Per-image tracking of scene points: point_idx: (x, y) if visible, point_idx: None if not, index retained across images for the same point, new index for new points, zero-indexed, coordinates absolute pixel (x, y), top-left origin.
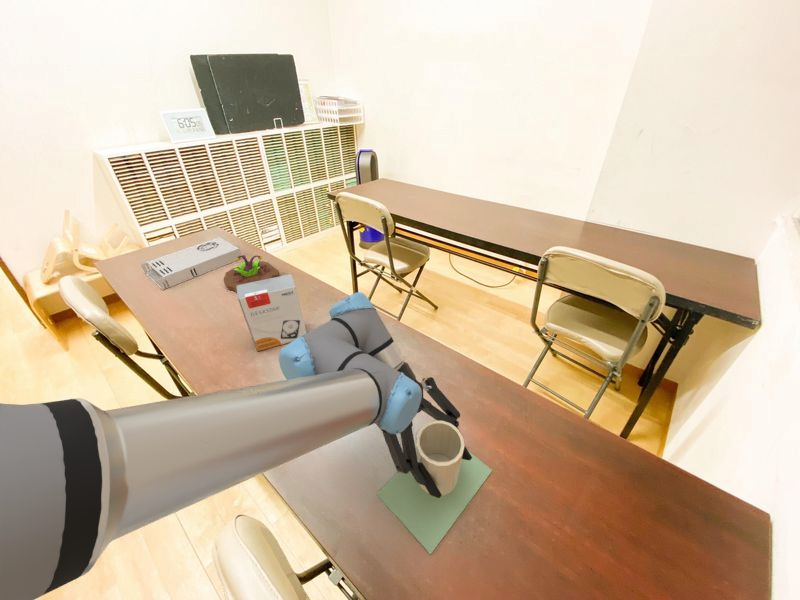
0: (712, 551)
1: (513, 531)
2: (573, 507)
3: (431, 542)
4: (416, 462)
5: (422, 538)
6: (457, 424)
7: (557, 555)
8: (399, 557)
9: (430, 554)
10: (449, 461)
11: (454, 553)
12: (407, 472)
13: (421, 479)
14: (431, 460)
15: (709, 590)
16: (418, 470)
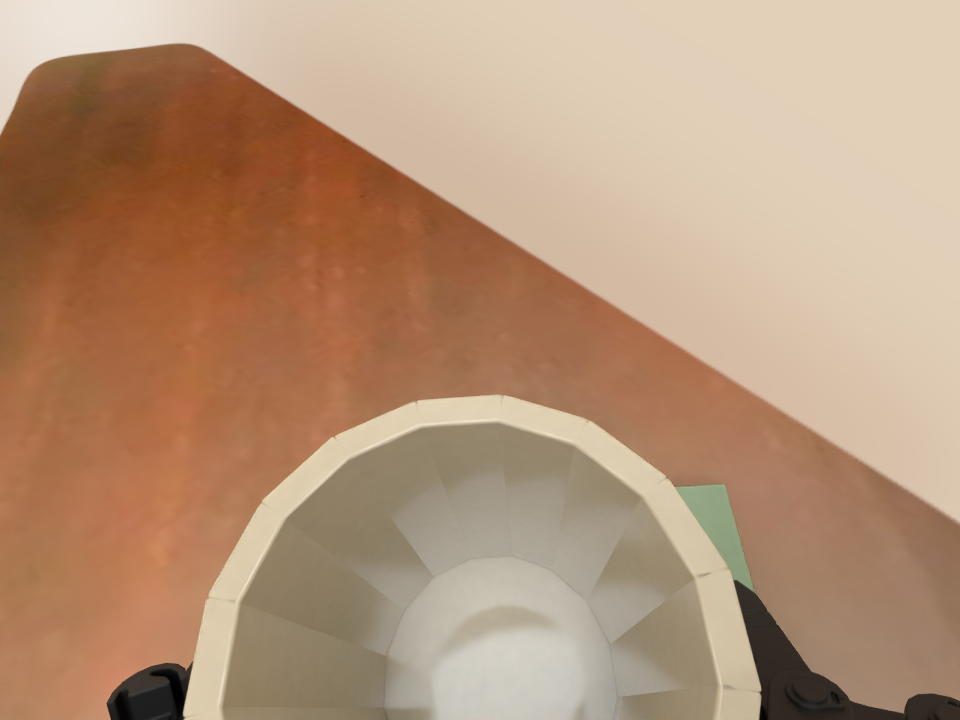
0: (162, 90)
1: (425, 346)
2: (234, 273)
3: (696, 508)
4: (784, 708)
5: (722, 544)
6: (149, 680)
7: (392, 248)
8: (847, 568)
9: (723, 485)
10: (551, 430)
11: (638, 432)
12: (934, 696)
13: (746, 607)
14: (691, 554)
15: (247, 79)
16: (759, 661)
